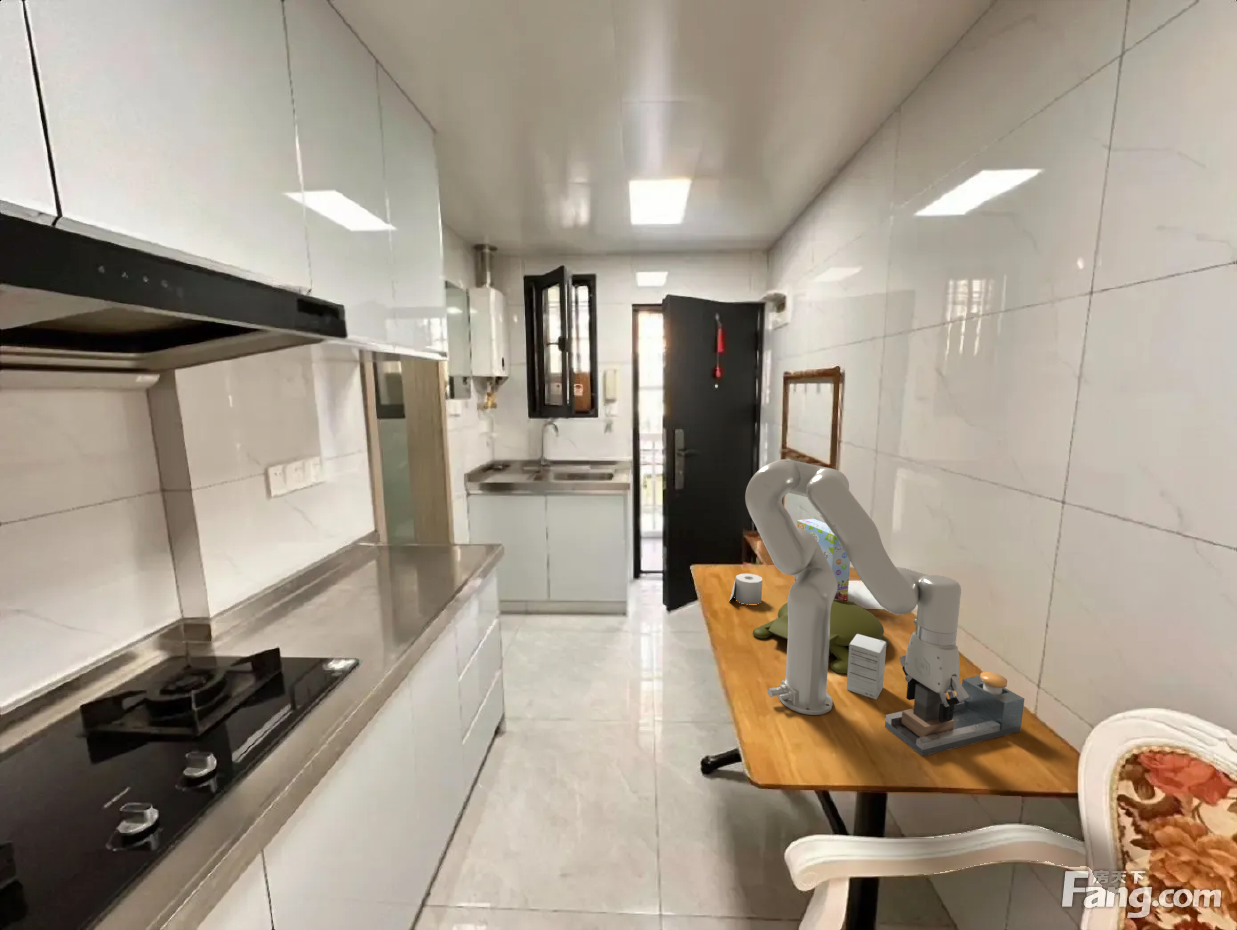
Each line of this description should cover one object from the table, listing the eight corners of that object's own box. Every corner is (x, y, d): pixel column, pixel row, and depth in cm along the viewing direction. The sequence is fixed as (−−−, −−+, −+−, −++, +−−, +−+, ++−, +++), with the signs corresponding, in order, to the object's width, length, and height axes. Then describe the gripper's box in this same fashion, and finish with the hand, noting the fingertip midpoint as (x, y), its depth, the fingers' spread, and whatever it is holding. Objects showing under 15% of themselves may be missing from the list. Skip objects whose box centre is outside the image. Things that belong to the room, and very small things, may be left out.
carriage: (923, 740, 111) (928, 696, 110) (901, 723, 117) (904, 681, 115) (952, 733, 113) (957, 690, 112) (929, 716, 119) (933, 676, 118)
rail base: (921, 756, 109) (925, 721, 107) (884, 727, 118) (887, 694, 117) (1020, 731, 117) (1024, 698, 115) (978, 706, 126) (981, 675, 125)
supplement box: (853, 677, 139) (856, 632, 137) (884, 687, 134) (887, 641, 132) (845, 689, 133) (848, 643, 131) (876, 700, 128) (880, 652, 126)
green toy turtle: (844, 679, 139) (846, 644, 137) (748, 636, 162) (750, 606, 161) (900, 639, 161) (903, 609, 159) (809, 607, 184) (811, 581, 183)
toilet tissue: (723, 603, 187) (724, 580, 186) (745, 593, 196) (745, 571, 194) (745, 611, 180) (746, 587, 179) (766, 600, 189) (767, 578, 188)
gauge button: (992, 718, 117) (996, 685, 116) (971, 705, 122) (975, 673, 121) (1008, 714, 118) (1012, 681, 117) (987, 701, 123) (991, 670, 122)
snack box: (792, 582, 207) (795, 519, 204) (810, 580, 210) (814, 517, 206) (829, 603, 187) (833, 533, 183) (849, 600, 189) (854, 532, 186)
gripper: (889, 619, 119) (884, 690, 121) (959, 656, 102) (950, 737, 105) (915, 615, 121) (909, 685, 124) (987, 650, 105) (978, 730, 107)
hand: (928, 708), depth 114 cm, fingers open, 7 cm apart
